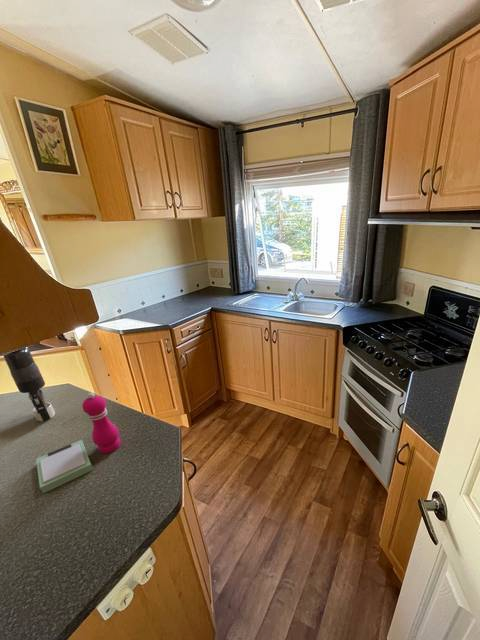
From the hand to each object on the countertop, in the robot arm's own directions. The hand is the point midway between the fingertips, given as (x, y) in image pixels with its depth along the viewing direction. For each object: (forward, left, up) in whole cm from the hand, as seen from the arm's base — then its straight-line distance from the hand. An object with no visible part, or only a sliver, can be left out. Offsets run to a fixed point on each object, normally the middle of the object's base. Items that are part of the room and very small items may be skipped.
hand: (46, 415), depth 108 cm
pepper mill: (+31, -21, -1) cm, 37 cm away
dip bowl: (0, 0, -1) cm, 1 cm away
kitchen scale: (+21, -28, -1) cm, 35 cm away
